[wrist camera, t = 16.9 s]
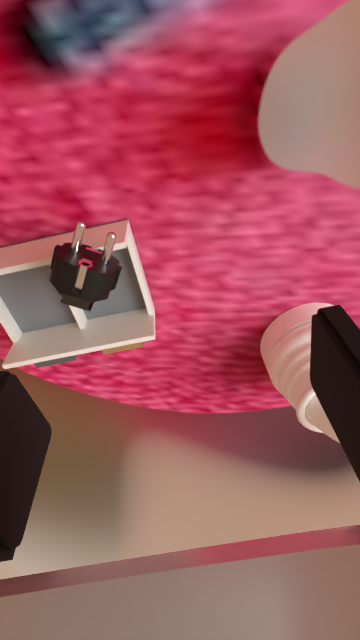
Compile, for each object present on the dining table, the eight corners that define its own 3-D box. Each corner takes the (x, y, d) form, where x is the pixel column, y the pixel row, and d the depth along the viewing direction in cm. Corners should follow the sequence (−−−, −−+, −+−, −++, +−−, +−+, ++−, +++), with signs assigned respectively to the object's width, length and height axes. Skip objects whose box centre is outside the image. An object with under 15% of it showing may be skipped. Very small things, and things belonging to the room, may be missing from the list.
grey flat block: (41, 340, 45) (32, 360, 42) (77, 332, 45) (71, 352, 42) (44, 346, 46) (36, 367, 43) (80, 339, 45) (75, 360, 42)
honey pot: (265, 305, 44) (320, 420, 30) (362, 299, 45) (464, 409, 30) (255, 376, 52) (296, 495, 37) (339, 370, 52) (411, 486, 38)
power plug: (70, 262, 39) (34, 310, 28) (86, 195, 35) (52, 222, 25) (118, 278, 40) (102, 330, 29) (138, 215, 36) (127, 249, 26)
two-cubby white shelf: (-30, 253, 38) (-58, 281, 33) (128, 218, 36) (124, 241, 31) (21, 335, 44) (4, 369, 39) (154, 308, 43) (155, 339, 38)
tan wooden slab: (104, 327, 45) (100, 347, 41) (141, 319, 44) (140, 339, 41) (107, 334, 45) (103, 354, 42) (143, 326, 45) (143, 346, 42)
